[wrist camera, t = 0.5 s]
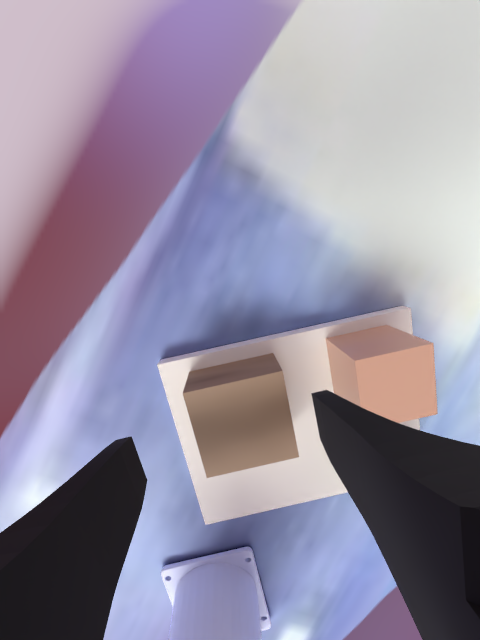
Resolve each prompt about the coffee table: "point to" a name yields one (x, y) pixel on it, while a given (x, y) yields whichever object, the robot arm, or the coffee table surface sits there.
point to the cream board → (300, 380)
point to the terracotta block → (384, 372)
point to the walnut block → (240, 415)
